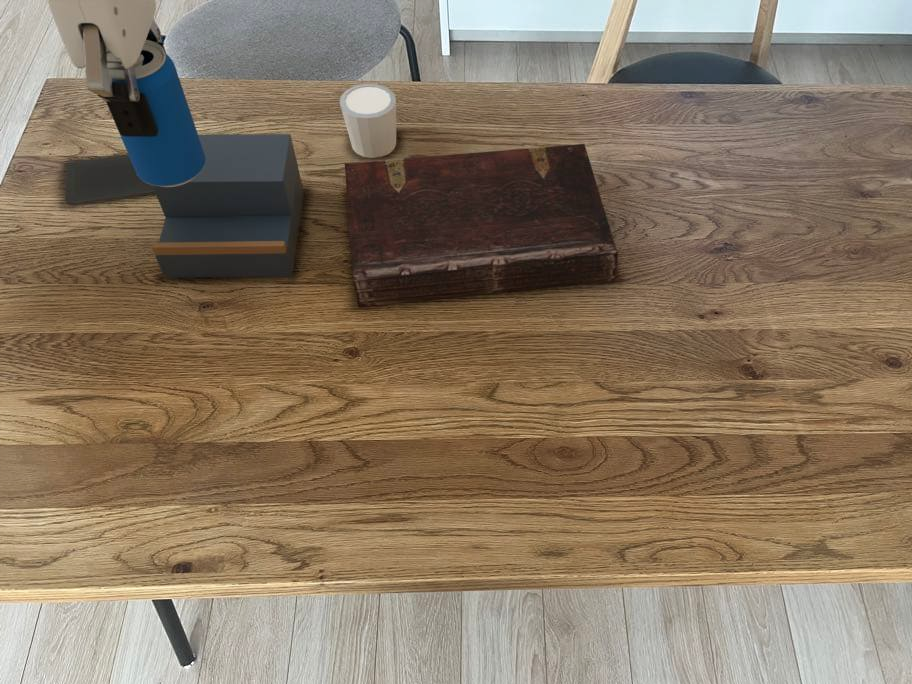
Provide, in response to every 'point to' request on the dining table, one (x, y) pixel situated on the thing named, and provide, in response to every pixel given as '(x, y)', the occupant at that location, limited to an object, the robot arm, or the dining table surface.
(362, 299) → the hardback book
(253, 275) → the step shelf
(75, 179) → the smartphone
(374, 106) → the white cylinder
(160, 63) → the beverage can
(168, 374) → the dining table surface
